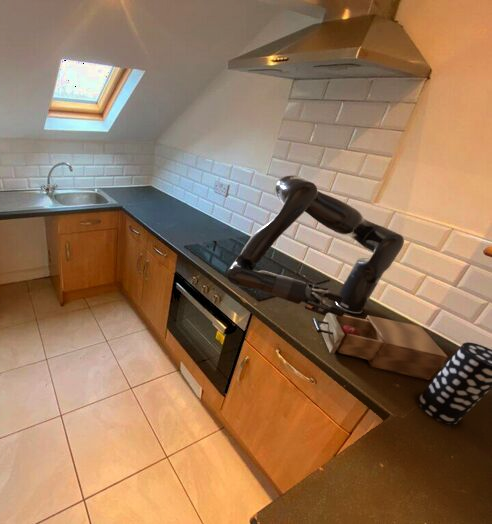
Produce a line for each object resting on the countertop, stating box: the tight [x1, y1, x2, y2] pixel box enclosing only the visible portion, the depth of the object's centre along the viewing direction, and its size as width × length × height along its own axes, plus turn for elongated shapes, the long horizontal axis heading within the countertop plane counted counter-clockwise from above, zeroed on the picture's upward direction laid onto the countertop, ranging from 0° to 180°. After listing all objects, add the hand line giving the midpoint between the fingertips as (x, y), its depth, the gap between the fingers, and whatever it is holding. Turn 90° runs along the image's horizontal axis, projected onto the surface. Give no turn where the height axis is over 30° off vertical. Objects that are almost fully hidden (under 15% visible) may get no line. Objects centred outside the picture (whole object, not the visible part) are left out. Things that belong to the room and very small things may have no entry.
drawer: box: [312, 313, 384, 361], centre depth 96 cm, size 19×12×8 cm, turn 76°
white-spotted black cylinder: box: [417, 341, 492, 425], centre depth 75 cm, size 8×8×20 cm
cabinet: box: [364, 314, 448, 381], centre depth 93 cm, size 16×14×10 cm
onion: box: [341, 326, 360, 342], centre depth 94 cm, size 6×6×8 cm
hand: (342, 306), depth 93 cm, fingers open, 8 cm apart
